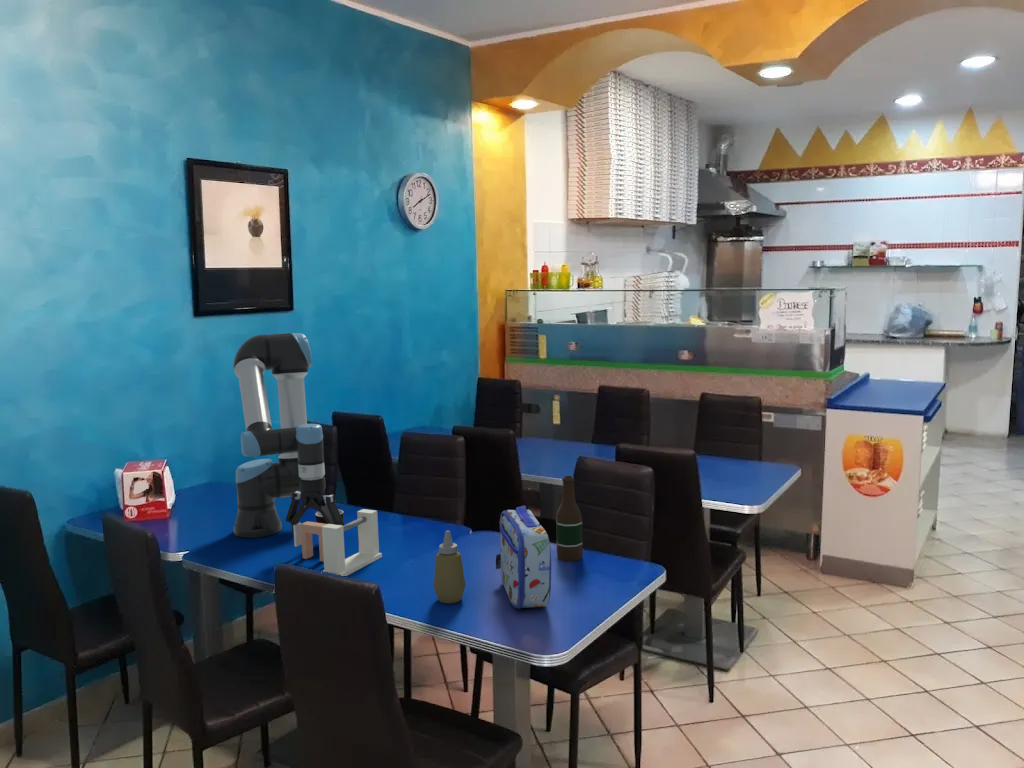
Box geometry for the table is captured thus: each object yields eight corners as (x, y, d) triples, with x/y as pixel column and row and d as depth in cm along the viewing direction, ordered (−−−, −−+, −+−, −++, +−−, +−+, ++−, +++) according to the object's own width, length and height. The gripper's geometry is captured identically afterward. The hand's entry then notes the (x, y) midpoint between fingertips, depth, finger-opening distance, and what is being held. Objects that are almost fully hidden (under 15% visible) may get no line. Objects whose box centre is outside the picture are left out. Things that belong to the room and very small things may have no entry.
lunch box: (493, 578, 226) (491, 500, 223) (530, 575, 228) (529, 497, 225) (515, 618, 199) (513, 529, 196) (557, 614, 201) (555, 526, 198)
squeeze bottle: (434, 594, 215) (431, 527, 213) (465, 592, 216) (463, 525, 214) (434, 606, 207) (431, 537, 205) (466, 605, 208) (464, 535, 206)
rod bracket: (321, 574, 232) (318, 526, 230) (362, 554, 249) (360, 508, 247) (341, 578, 229) (339, 529, 227) (382, 557, 246) (379, 511, 244)
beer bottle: (586, 554, 243) (584, 474, 240) (579, 563, 236) (578, 480, 233) (560, 552, 246) (558, 473, 243) (553, 560, 239) (551, 479, 236)
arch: (302, 558, 246) (300, 524, 245) (309, 555, 249) (307, 521, 248) (324, 561, 243) (322, 527, 241) (330, 558, 245) (328, 524, 244)
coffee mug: (338, 549, 254) (336, 517, 253) (312, 547, 256) (310, 516, 254) (353, 537, 265) (351, 506, 264) (328, 536, 267) (326, 506, 266)
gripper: (270, 476, 245) (275, 546, 248) (337, 483, 234) (341, 556, 237) (288, 471, 252) (292, 539, 254) (353, 477, 241) (357, 549, 243)
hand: (316, 548), depth 245 cm, fingers open, 12 cm apart
